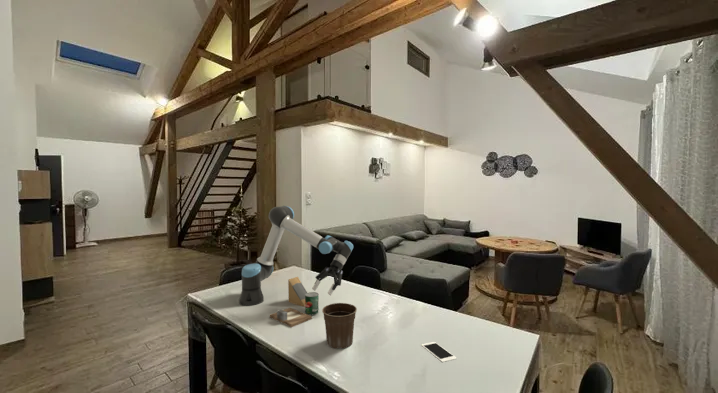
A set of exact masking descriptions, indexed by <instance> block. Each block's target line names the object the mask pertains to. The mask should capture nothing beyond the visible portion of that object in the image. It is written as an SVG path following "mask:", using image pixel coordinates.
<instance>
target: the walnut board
mask: <svg viewBox="0 0 718 393" xmlns="http://www.w3.org/2000/svg"><path fill="white" fill-rule="evenodd" d="M269 318H271V319H273V320H275V321H277V322H279V323H281V322H282V323H281V324H283V323H284V325H286V326H288V327H290V328H294V327H296V326H299V325H301V324H304V323H306V322H308V321H311V320H313V315H307V314H305V312H302V311H299V310H296V309H294V308H291V307H288V308H285V309H278V310H276V312H274V313H270V314H269Z"/></svg>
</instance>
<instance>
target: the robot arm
mask: <svg viewBox="0 0 718 393" xmlns="http://www.w3.org/2000/svg"><path fill="white" fill-rule="evenodd" d="M294 218H295V212H294V210H293V208H292V207H290V206H287V205H282V206H281V205H280V206H274V207H272V208H271V209H270V210H269V213H268V219H269V221H270V223H271V228H270V231H269V234H268V236H267V238H266V241H265V244H264V247H263V249H262V251H261V254H260V256H259V257H257V258H256V261H255V262H254V263H248V264H246V265H244V266H243V267H242V268H241V292H240V296H239V298H238V304H239V305H242V306H255V305H259V304H261V303H263V302H264V294H263V291H262V283H261V282H262V281H264V280H265V279H268V278H269V277H270V276H271V275H272V274H273V272H274V257H275V255H276V253H277V250H278V247H279V246H280V242H281V240H282V236H283V234H284V232H285V230H286V231H287V232H289V233H291V234H292V235H294V236H296V237H297V238H300V239H301V240H303V241H304V242H306V243H308V244H310V245H311V246H312V247H314V248H316V249H318V250H319V252H320V253H321V254H322V255H326V254H330V253H331V252H334V253H336V254H335V256H334V257H333V259H332V260H331V261H332V262H331V263H330V266H329V267H328V266H325V267H324V269H322V271H320V272H319V273H318V274H317V275H316V276H315V280H316V281H315V282H314V284H313V286H312V290H313V292H316V290H317V289H318V287H319V286H320V284H321V281H323V280H324V279H326V278H327V277H333V283H332V285H331V286H330V288H329V290H328V291H327V294H328V295H329V297H330V296H332V295H333V292H334V291H336V288H338V287H339V286H341V285H342V278H343V274H344V271H343V270H342V269H343V268H344V265H345V264H346V262H347V260H348V258H349V256H350V255H351V253H352V251H353V249H354V244H353V243H352V242H351V241H348V240H344V242H343V241H340V240H339V239H336V238H335V237H333V236H331V235H326V236H325V237H323V236H321V235H320V234H318V233H316V232H314V231H313V230H312V229H309V228H308V227H306V226H305V225H303V224H301V223H299V222H298V221H296V220H294Z"/></svg>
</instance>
